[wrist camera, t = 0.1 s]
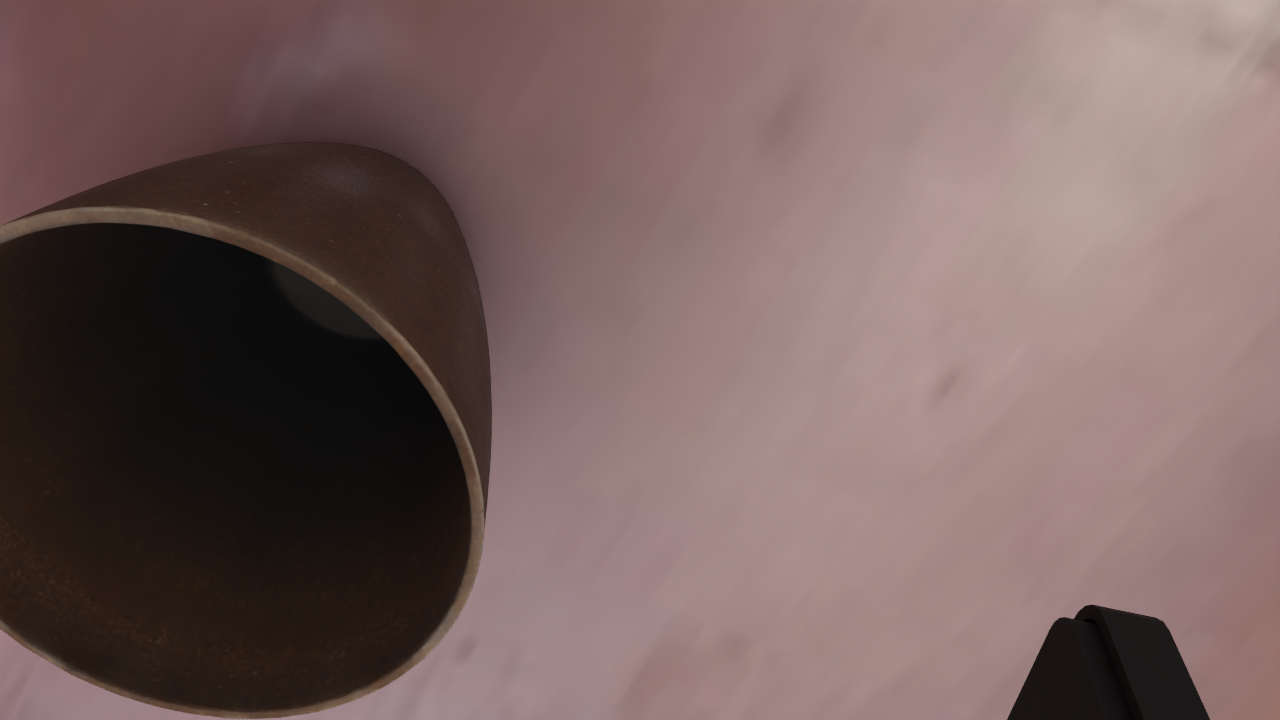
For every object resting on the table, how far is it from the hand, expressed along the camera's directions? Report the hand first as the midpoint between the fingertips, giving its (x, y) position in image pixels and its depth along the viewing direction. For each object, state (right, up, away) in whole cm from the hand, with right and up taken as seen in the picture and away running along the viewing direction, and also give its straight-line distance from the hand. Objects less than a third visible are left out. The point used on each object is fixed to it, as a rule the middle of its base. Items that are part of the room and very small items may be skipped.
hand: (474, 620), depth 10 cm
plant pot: (-9, +7, +33) cm, 35 cm away
